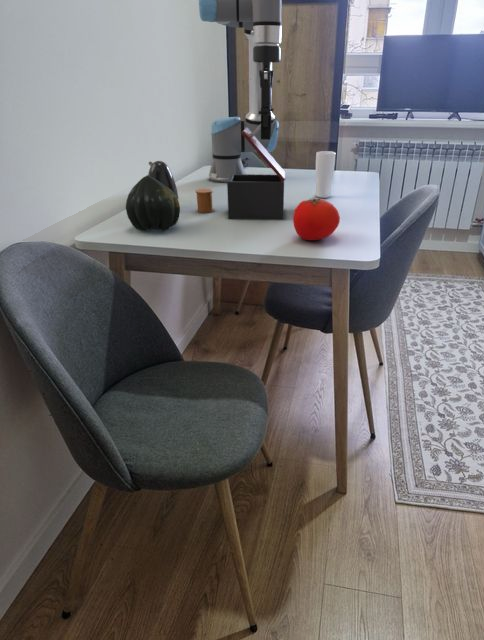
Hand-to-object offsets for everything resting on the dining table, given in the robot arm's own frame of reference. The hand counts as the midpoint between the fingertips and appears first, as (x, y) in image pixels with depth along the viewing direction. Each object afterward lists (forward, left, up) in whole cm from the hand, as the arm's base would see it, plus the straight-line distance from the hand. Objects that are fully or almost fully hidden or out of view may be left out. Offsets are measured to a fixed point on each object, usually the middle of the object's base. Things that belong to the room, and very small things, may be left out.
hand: (266, 137), depth 140 cm
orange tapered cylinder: (-3, -20, -23) cm, 30 cm away
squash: (+17, -32, -23) cm, 43 cm away
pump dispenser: (-4, -34, -23) cm, 41 cm away
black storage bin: (0, -3, -23) cm, 23 cm away
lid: (0, -1, -5) cm, 5 cm away
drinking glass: (-25, +20, -23) cm, 39 cm away
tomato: (+25, +14, -23) cm, 37 cm away
